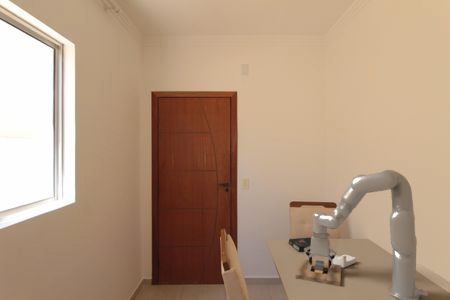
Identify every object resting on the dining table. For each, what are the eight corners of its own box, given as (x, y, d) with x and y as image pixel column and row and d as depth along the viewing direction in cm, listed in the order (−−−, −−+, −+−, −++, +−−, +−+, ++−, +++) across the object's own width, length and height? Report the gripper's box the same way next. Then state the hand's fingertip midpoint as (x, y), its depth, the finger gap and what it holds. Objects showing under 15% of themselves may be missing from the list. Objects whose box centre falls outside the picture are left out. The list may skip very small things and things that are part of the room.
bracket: (343, 269, 165) (343, 256, 165) (332, 265, 171) (332, 252, 171) (356, 263, 172) (356, 251, 172) (345, 259, 178) (345, 247, 178)
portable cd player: (288, 244, 206) (288, 239, 206) (310, 242, 209) (310, 237, 209) (298, 253, 190) (298, 247, 190) (322, 251, 193) (322, 245, 193)
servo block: (323, 270, 163) (324, 259, 163) (322, 277, 154) (322, 266, 154) (316, 269, 165) (316, 258, 165) (314, 276, 156) (314, 265, 155)
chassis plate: (341, 268, 165) (341, 265, 165) (340, 286, 145) (340, 282, 145) (302, 262, 174) (302, 259, 174) (295, 278, 154) (295, 274, 154)
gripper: (336, 234, 159) (337, 265, 159) (304, 231, 166) (305, 260, 166) (336, 238, 152) (336, 270, 152) (302, 235, 159) (303, 265, 159)
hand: (320, 265), depth 159 cm, fingers open, 9 cm apart
